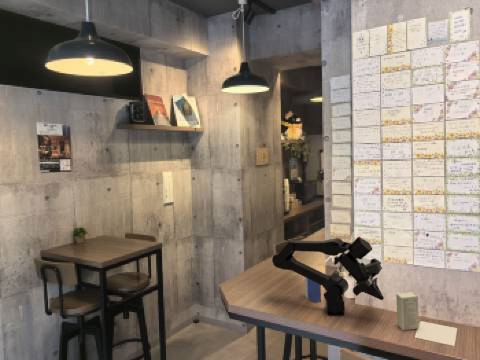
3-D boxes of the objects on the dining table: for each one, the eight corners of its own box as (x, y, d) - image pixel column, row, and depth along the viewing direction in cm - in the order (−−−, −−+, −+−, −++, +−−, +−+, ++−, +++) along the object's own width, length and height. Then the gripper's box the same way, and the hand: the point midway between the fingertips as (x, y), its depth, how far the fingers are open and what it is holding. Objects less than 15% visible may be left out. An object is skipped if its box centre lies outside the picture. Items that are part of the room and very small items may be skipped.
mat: (414, 337, 134) (414, 337, 134) (420, 321, 146) (420, 321, 146) (454, 346, 128) (454, 345, 128) (457, 328, 139) (457, 328, 139)
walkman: (321, 301, 167) (320, 274, 166) (315, 303, 166) (315, 275, 164) (310, 295, 174) (309, 269, 173) (305, 296, 173) (304, 270, 172)
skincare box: (413, 323, 144) (412, 291, 143) (419, 329, 139) (418, 296, 138) (396, 324, 144) (395, 292, 143) (402, 330, 139) (401, 297, 138)
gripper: (361, 260, 139) (394, 295, 134) (374, 247, 155) (403, 279, 150) (339, 278, 144) (370, 313, 139) (354, 264, 160) (382, 295, 155)
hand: (382, 299), depth 145 cm, fingers closed
